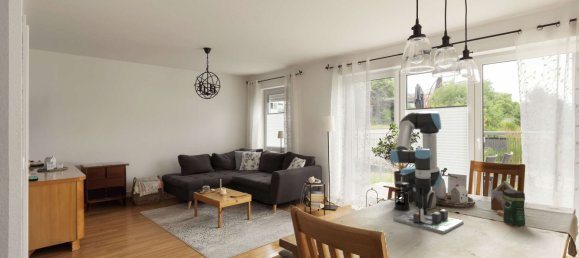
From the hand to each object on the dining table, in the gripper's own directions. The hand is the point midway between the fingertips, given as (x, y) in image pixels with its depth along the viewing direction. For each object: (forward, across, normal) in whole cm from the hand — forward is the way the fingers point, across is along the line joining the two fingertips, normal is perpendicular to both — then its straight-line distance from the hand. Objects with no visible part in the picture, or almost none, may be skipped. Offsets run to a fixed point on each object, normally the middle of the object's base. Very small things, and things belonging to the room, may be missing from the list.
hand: (423, 220), depth 162 cm
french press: (+3, -24, +20) cm, 31 cm away
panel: (+3, -1, +8) cm, 8 cm away
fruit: (+3, -14, +33) cm, 36 cm away
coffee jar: (+3, +31, +40) cm, 50 cm away
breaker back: (+1, +4, +16) cm, 16 cm away
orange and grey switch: (+1, -3, 0) cm, 3 cm away
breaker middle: (+1, +4, +8) cm, 9 cm away
